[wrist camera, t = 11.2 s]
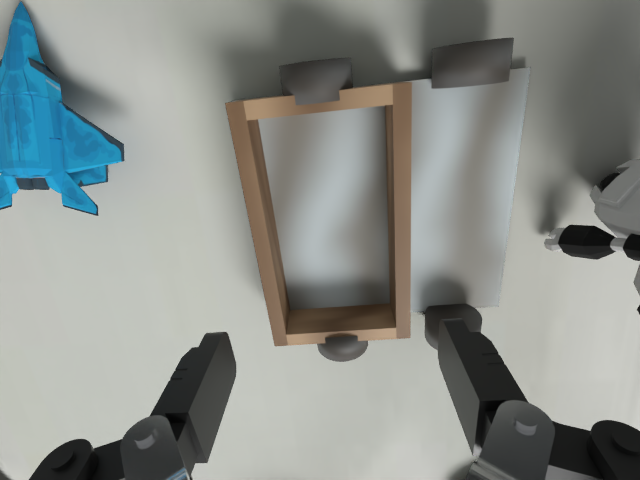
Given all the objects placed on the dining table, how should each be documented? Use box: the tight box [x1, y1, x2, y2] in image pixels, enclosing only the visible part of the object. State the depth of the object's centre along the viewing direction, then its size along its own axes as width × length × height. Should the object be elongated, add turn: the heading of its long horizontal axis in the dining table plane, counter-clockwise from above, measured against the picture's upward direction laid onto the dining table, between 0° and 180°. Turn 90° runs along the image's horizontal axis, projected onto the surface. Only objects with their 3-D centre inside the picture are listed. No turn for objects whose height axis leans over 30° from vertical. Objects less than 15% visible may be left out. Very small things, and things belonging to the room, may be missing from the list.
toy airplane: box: [0, 2, 124, 216], centre depth 21 cm, size 12×10×4 cm
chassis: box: [225, 38, 531, 362], centre depth 23 cm, size 18×20×4 cm
